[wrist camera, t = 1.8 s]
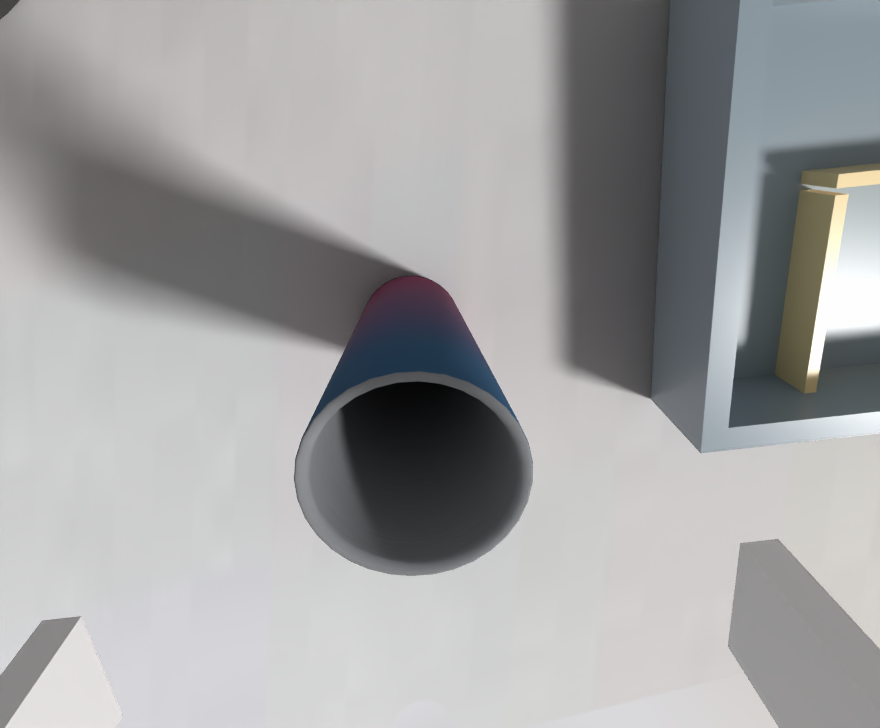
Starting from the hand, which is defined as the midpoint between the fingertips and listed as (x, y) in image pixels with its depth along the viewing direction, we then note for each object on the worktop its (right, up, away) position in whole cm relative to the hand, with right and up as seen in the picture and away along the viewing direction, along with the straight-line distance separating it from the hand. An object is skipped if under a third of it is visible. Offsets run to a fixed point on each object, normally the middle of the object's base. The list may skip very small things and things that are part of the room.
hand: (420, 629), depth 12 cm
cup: (-1, +8, +19) cm, 20 cm away
